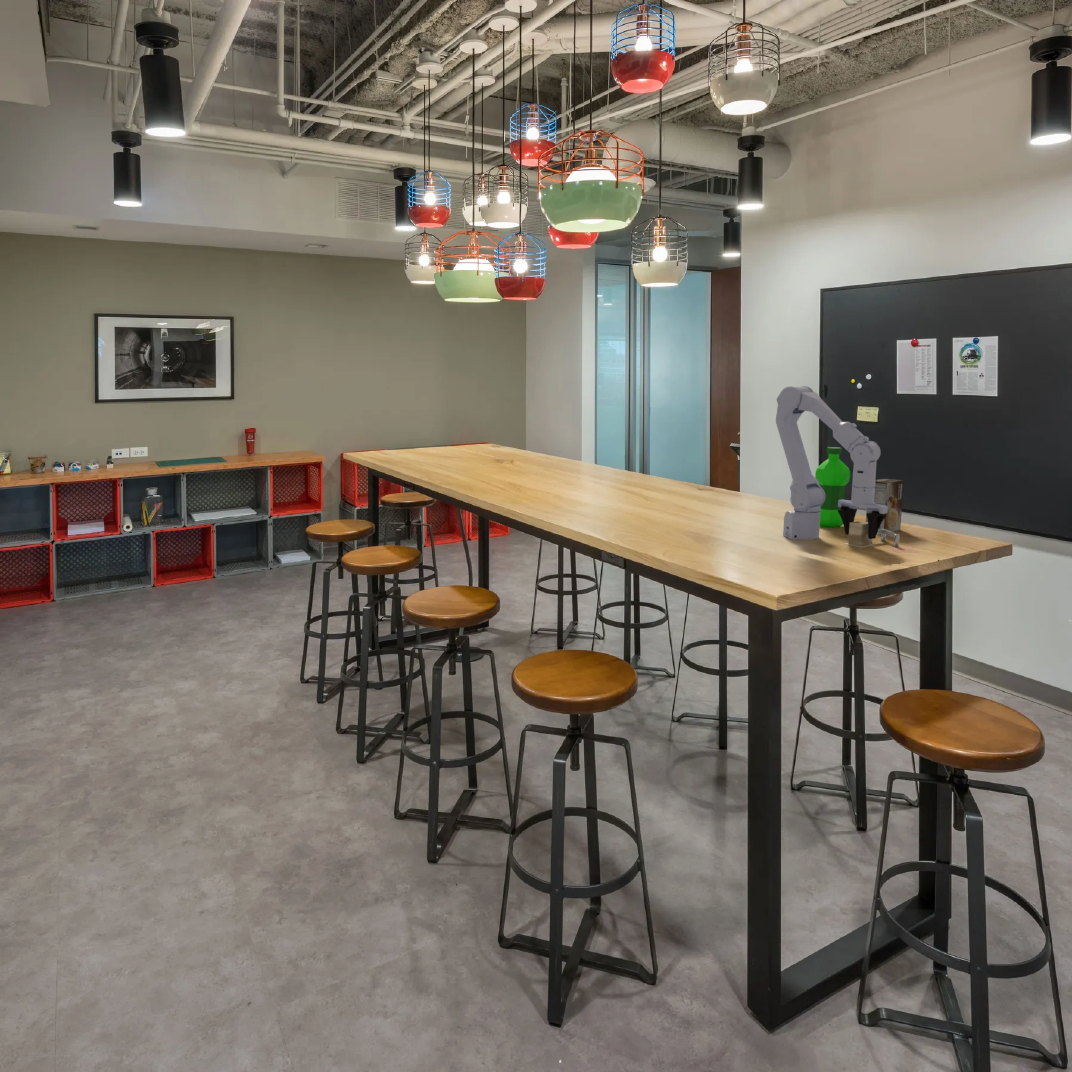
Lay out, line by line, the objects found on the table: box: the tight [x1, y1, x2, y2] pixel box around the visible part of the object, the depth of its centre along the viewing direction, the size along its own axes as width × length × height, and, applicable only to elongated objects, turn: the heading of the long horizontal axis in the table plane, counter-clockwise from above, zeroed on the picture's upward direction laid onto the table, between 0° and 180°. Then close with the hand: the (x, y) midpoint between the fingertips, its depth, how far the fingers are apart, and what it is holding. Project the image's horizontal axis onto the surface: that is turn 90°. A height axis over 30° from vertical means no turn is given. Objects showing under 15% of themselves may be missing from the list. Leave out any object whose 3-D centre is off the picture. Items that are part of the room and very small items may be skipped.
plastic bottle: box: [814, 446, 851, 528], centre depth 252 cm, size 10×10×25 cm
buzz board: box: [843, 542, 919, 553], centre depth 221 cm, size 16×18×1 cm
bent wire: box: [870, 529, 901, 547], centre depth 223 cm, size 7×9×4 cm
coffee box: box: [865, 478, 905, 532], centre depth 244 cm, size 9×6×16 cm
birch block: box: [847, 520, 872, 547], centre depth 222 cm, size 4×4×6 cm
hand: (860, 536), depth 223 cm, fingers open, 7 cm apart
